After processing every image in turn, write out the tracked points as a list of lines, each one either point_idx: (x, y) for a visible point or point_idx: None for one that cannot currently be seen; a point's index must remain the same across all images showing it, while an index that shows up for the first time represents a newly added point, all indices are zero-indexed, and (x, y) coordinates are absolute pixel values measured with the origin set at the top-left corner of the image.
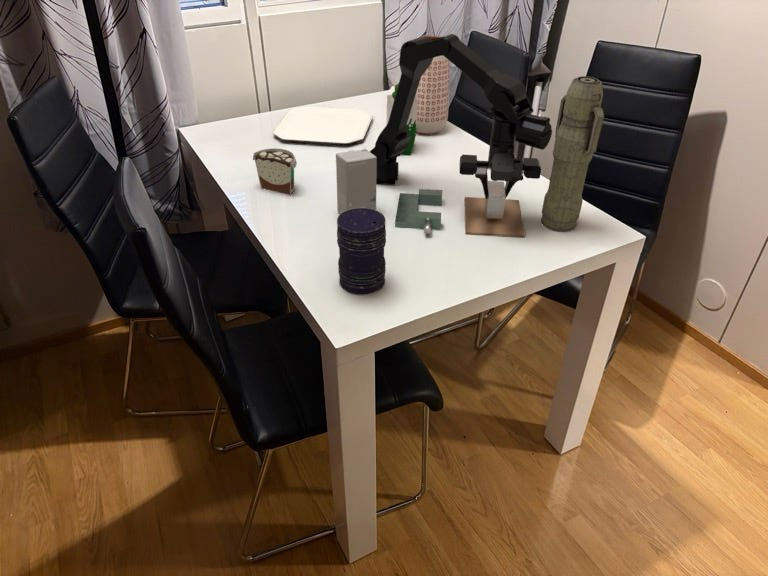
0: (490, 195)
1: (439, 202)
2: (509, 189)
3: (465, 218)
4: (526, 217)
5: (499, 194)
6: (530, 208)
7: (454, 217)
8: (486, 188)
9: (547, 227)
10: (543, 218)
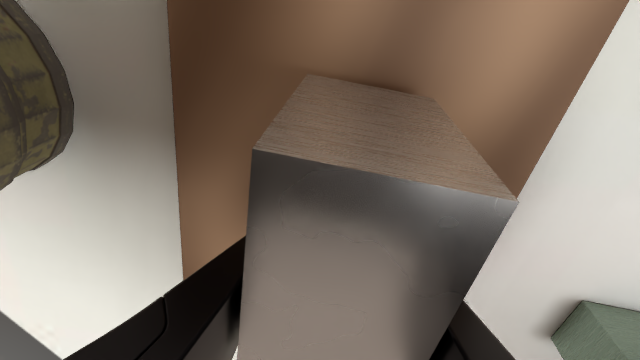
0: (486, 209)
1: (606, 319)
2: (181, 297)
3: (539, 156)
4: (154, 152)
5: (335, 223)
6: (135, 231)
7: (578, 192)
8: (479, 354)
9: (16, 9)
10: (21, 73)
